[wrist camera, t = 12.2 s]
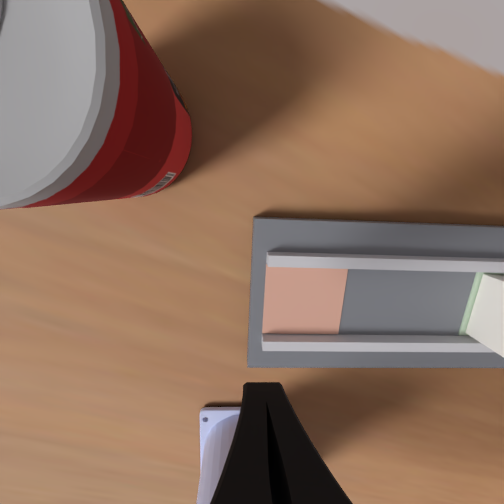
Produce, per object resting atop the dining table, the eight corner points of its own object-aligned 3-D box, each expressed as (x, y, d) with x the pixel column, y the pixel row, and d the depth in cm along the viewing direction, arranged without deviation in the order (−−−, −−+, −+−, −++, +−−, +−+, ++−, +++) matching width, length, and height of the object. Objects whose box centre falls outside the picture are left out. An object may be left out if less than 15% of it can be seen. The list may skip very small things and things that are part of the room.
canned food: (209, 93, 15) (141, -115, 5) (177, 212, 17) (76, 251, 7) (86, 44, 14) (-339, -352, 4) (65, 175, 16) (-262, 152, 6)
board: (530, 358, 22) (571, 382, 19) (247, 357, 21) (248, 383, 18) (581, 228, 19) (638, 235, 16) (253, 216, 18) (255, 221, 15)
